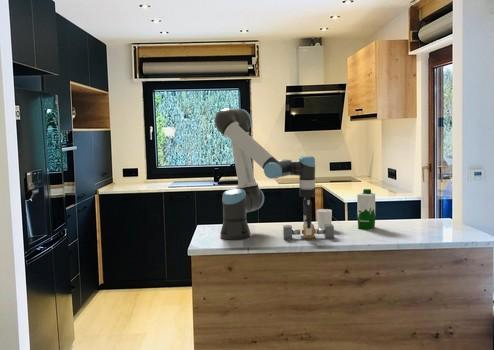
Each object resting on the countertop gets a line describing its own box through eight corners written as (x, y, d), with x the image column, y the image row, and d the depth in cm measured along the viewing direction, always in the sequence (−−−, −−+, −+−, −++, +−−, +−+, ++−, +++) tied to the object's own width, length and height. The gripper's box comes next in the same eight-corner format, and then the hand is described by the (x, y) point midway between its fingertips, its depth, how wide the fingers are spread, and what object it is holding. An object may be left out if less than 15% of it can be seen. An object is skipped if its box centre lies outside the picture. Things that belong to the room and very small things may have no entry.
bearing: (283, 239, 233) (283, 227, 232) (283, 237, 238) (283, 225, 237) (300, 239, 233) (300, 227, 232) (299, 236, 238) (299, 224, 237)
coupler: (302, 238, 233) (302, 226, 232) (301, 236, 237) (301, 224, 237) (316, 238, 232) (315, 226, 232) (315, 236, 237) (314, 224, 236)
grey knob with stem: (317, 238, 232) (316, 226, 232) (316, 236, 237) (315, 224, 237) (333, 238, 232) (333, 226, 231) (332, 236, 237) (332, 224, 236)
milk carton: (376, 226, 255) (376, 189, 253) (372, 230, 247) (372, 191, 245) (360, 225, 259) (360, 188, 257) (355, 229, 251) (355, 191, 249)
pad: (301, 239, 232) (301, 239, 232) (300, 236, 239) (300, 235, 239) (316, 239, 231) (316, 238, 231) (314, 236, 238) (314, 235, 238)
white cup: (331, 230, 249) (331, 211, 248) (316, 230, 250) (316, 211, 249) (332, 227, 256) (332, 209, 255) (317, 227, 258) (317, 209, 257)
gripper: (317, 191, 220) (317, 237, 222) (312, 184, 245) (312, 225, 247) (301, 192, 220) (301, 237, 223) (297, 184, 245) (298, 225, 247)
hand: (307, 231), depth 235 cm, fingers open, 13 cm apart
